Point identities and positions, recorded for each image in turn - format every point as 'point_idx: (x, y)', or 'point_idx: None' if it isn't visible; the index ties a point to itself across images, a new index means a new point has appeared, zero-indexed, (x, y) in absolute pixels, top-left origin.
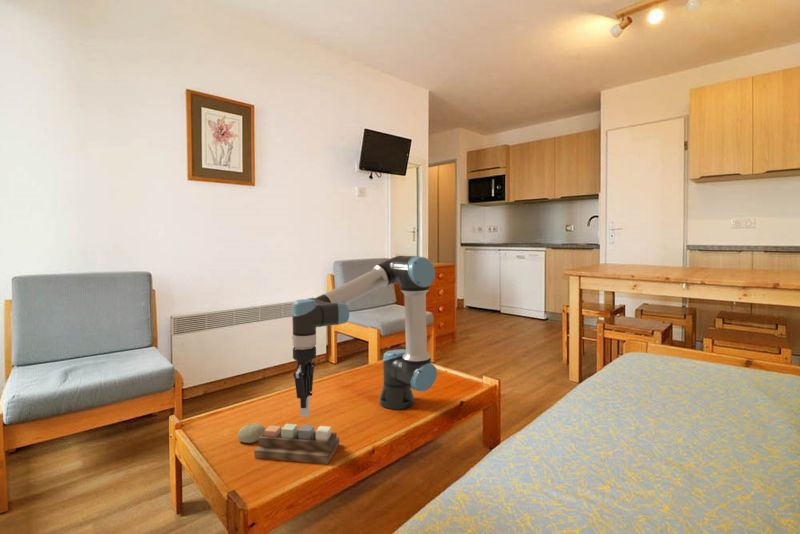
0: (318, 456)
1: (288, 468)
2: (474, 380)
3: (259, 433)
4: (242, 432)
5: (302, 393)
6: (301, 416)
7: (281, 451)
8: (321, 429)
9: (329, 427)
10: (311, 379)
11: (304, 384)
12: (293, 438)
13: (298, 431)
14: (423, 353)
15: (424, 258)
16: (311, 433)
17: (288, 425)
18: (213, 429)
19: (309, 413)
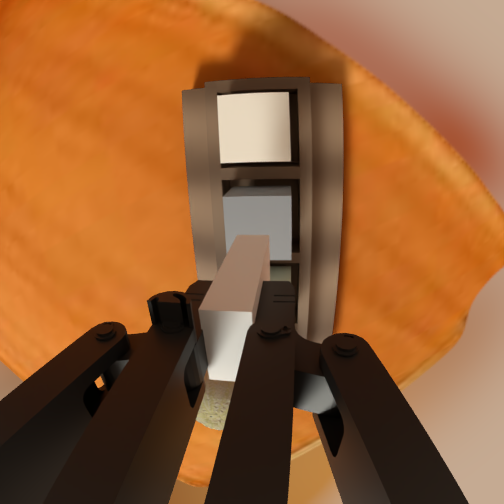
0: (342, 124)
1: (382, 222)
2: None
3: (228, 386)
4: None
5: (396, 400)
6: (269, 280)
7: (330, 281)
8: (260, 136)
9: (228, 100)
10: (29, 424)
11: (285, 501)
12: (282, 267)
13: (290, 256)
14: None
15: None
16: (266, 191)
17: None
18: (208, 455)
19: (236, 239)
